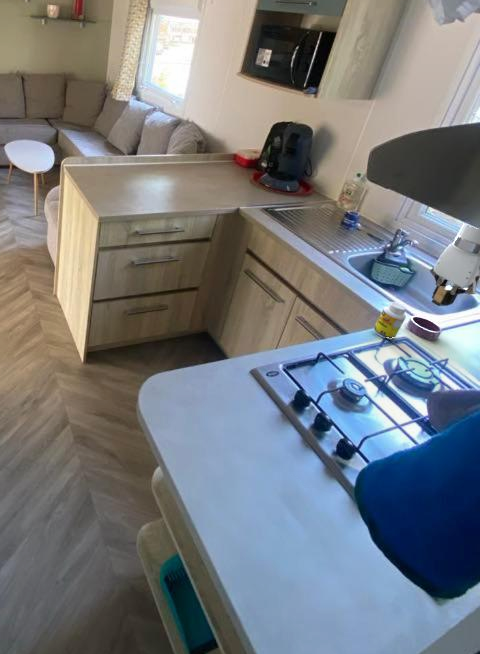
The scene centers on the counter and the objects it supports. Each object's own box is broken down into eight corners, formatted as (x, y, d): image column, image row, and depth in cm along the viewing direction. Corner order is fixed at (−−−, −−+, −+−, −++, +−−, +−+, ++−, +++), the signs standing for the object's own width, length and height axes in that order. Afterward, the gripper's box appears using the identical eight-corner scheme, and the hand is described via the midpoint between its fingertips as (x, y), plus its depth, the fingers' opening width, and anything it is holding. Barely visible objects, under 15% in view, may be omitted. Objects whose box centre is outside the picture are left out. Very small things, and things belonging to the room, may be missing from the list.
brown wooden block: (441, 301, 125) (449, 285, 123) (448, 305, 124) (457, 289, 121) (431, 301, 124) (439, 286, 122) (438, 306, 122) (447, 290, 120)
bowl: (428, 326, 132) (432, 319, 131) (443, 343, 125) (448, 335, 124) (401, 321, 133) (405, 313, 132) (415, 337, 125) (419, 329, 124)
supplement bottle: (368, 327, 127) (383, 298, 123) (386, 329, 127) (401, 301, 123) (380, 339, 122) (395, 310, 118) (398, 341, 122) (414, 312, 118)
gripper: (512, 259, 110) (478, 317, 118) (452, 233, 124) (425, 286, 132) (492, 260, 108) (459, 318, 116) (433, 233, 122) (407, 286, 130)
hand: (441, 301), depth 124 cm, fingers closed on brown wooden block, 2 cm apart
